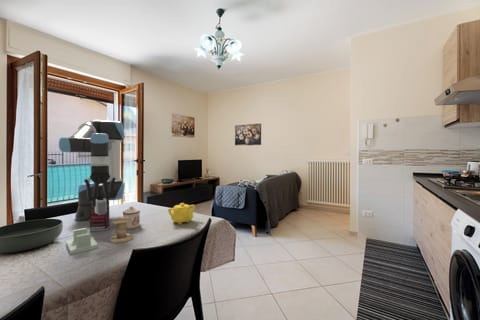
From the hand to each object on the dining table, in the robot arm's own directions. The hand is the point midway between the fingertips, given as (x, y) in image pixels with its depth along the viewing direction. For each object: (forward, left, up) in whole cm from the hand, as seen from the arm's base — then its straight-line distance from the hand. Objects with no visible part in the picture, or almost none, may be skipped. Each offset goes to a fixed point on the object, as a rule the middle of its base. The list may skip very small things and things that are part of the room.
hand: (100, 212), depth 111 cm
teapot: (+3, +44, -14) cm, 46 cm away
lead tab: (0, 0, -1) cm, 1 cm away
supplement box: (-16, +3, -14) cm, 22 cm away
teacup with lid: (-11, +19, -14) cm, 26 cm away
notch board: (+4, -8, -14) cm, 16 cm away
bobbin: (+6, +8, -14) cm, 17 cm away
